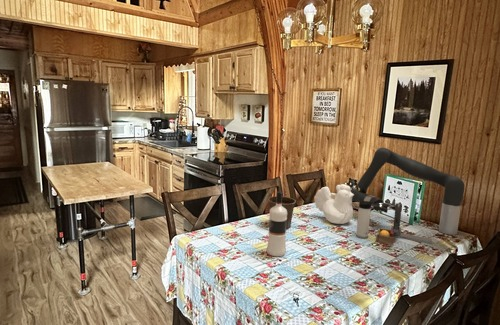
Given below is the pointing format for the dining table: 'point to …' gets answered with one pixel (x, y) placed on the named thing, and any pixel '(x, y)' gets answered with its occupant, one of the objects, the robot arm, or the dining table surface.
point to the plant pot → (287, 204)
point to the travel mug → (363, 219)
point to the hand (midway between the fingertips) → (393, 210)
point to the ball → (384, 233)
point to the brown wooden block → (385, 237)
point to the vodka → (277, 228)
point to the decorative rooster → (335, 204)
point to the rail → (414, 238)
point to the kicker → (396, 221)
